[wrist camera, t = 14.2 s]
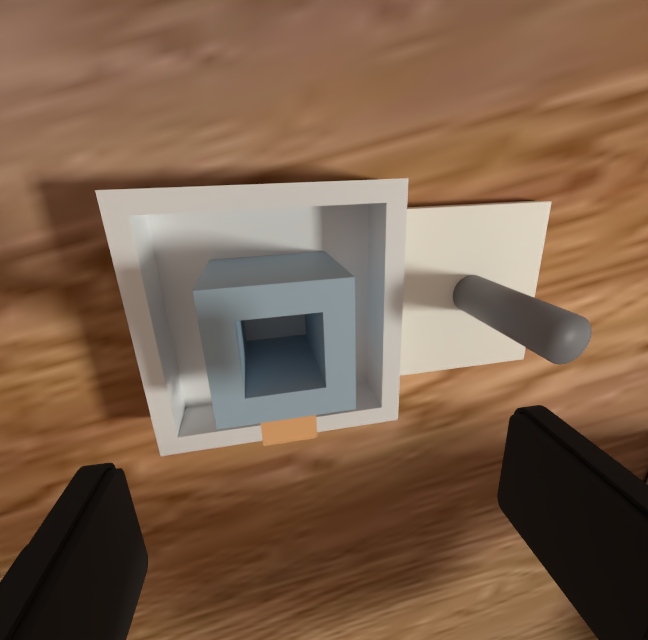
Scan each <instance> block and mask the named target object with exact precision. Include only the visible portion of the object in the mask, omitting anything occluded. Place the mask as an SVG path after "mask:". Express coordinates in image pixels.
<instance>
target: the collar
mask: <svg viewBox="0 0 648 640" xmlns="http://www.w3.org/2000/svg"><path fill="white" fill-rule="evenodd" d="M193 296H194V302H195V308H196V313H197V319H198V325H199V331H200V336H201V342H202V348H203V353H204V359H205V365H206V371H207V376H208V382H209V388H210V394H211V399H212V405H213V411H214V416H215V422H216V428H217V430H218V429H225V428H232V427H238V426H245V425H252V424H259V423H261V432H262V440H263V446H267V445H273V444H280V443H286V442H292V441H299V440H305V439H311V438H317V422H316V415H319V414H326V413H333V412H340V411H346V410H353V409H356V344H355V277H354V276H353V275H352V274H351V273H350V272H349V271H347V270H346V269H345V268H344V267H343V266H342V265H340V264H339V263H338V262H337V261H336V260H335V259H333V258H332V257H331V256H330V255H329V254H328V253H326V252H325V251H322V252H308V253H295V254H281V255H267V256H253V257H240V258H226V259H212V260H209V262H208V264H207V266H206V268H205V269H204V271H203V273H202V275H201V277H200V278H199V280H198V282H197V284H196V286H195V287H194V289H193ZM300 314H305V325H306V334H304V335H295V336H286V337H277V338H268V339H259V340H250V341H246V334H245V326H244V320H251V319H261V318H270V317H280V316H290V315H300Z"/></svg>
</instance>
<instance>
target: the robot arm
mask: <svg viewBox="0 0 648 640" xmlns="http://www.w3.org/2000/svg"><path fill="white" fill-rule="evenodd" d="M497 498H498V503H499V506H500V508H501V510H502V511H503V513H504V514H505V515H506V517H507V518H508V519H509V521H510V522H511V523H512V525H513V526H514V527H515V529H516V530H517V531H518V533H519V534H520V535H521V537H522V538H523V539H524V541H525V542H526V543H527V545H528V546H529V547H530V549H531V550H532V551H533V553H534V554H535V555H536V557H537V558H538V559H539V561H540V562H541V563H542V565H543V566H544V567H545V569H546V570H547V571H548V573H549V574H550V575H551V577H552V578H553V579H554V581H555V582H556V583H557V585H558V586H559V587H560V589H561V590H562V591H563V593H564V594H565V595H566V597H567V598H568V599H569V601H570V602H571V603H572V605H573V606H574V607H575V609H576V610H577V611H578V613H579V614H580V615H581V617H582V618H583V619H584V621H585V622H586V623H587V625H588V626H589V627H590V629H591V630H592V631H593V633H594V634H595V635H596V637H597V638H598V639H599V640H648V478H647V482H646V483H645V482H643V481H642V480H641V479H639V478H638V477H637V476H635V475H634V474H633V473H632V472H630V471H629V470H628V469H626V468H625V467H624V466H622V465H621V464H620V463H618V462H617V461H616V460H614V459H613V458H612V457H610V456H609V455H608V454H606V453H605V452H604V451H603V450H601V449H600V448H599V447H597V446H596V445H595V444H593V443H592V442H591V441H589V440H588V439H587V438H585V437H584V436H583V435H581V434H580V433H579V432H578V431H576V430H575V429H574V428H572V427H571V426H570V425H568V424H567V423H566V422H564V421H563V420H562V419H560V418H559V417H558V416H556V415H555V414H554V413H552V412H551V411H550V410H549V409H547V408H546V407H544V406H541V405H537V406H529V407H522V408H518V409H517V410H516V411H515V413H514V415H512V416H511V417H510V420H509V426H508V432H507V438H506V445H505V451H504V457H503V463H502V470H501V476H500V482H499V489H498V496H497ZM147 568H148V555H147V551H146V547H145V544H144V540H143V537H142V533H141V530H140V526H139V523H138V519H137V516H136V512H135V509H134V505H133V502H132V498H131V495H130V491H129V488H128V484H127V481H126V477H125V474H124V471H123V470H122V469H121V468H118V469H116V468H115V465H114V464H113V463H104V464H96V465H89V466H83V467H81V468H80V469H79V470H78V471H77V472H76V474H75V475H74V477H73V478H72V480H71V481H70V483H69V484H68V486H67V487H66V489H65V490H64V492H63V493H62V495H61V496H60V498H59V499H58V501H57V502H56V504H55V505H54V507H53V508H52V510H51V511H50V513H49V514H48V516H47V517H46V519H45V520H44V522H43V523H42V524H41V526H40V527H39V529H38V530H37V532H36V533H35V535H34V536H33V538H32V539H31V541H30V542H29V544H28V545H27V546H26V547H25V548H24V549H23V550H22V551H21V553H20V554H19V555H18V557H17V558H16V560H15V561H14V563H13V564H12V566H11V567H10V569H9V570H8V572H7V573H6V575H5V576H4V577H3V579H2V580H1V582H0V640H126V638H127V635H128V632H129V628H130V625H131V622H132V619H133V615H134V612H135V609H136V606H137V602H138V599H139V596H140V593H141V589H142V586H143V583H144V580H145V576H146V573H147Z"/></svg>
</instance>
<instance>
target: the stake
mask: <svg viewBox="0 0 648 640" xmlns="http://www.w3.org/2000/svg"><path fill="white" fill-rule="evenodd" d="M551 202H552V201H521V202H502V203H483V204H464V205H444V206H425V207H407V220H406V243H405V267H404V290H403V313H402V336H401V360H400V375H408V374H415V373H423V372H430V371H438V370H445V369H453V368H460V367H468V366H475V365H483V364H490V363H498V362H505V361H513V360H520V359H524V353H525V348H528V349H529V350H531V351H533V352H535V353H536V354H538V355H540V356H541V357H543V358H545V359H547V360H548V361H550V362H552V363H554V364H566V363H569V362H571V361H573V360H575V359H576V358H577V357H579V356H580V355H581V354H582V353H583V351H584V350H585V349H586V347H587V346H588V344H589V341H590V338H591V332H592V331H591V325H590V323H589V321H588V320H587V319H586V318H585V317H583V316H580V315H578V314H575V313H572V312H570V311H567V310H565V309H562V308H560V307H557V306H554V305H552V304H549V303H547V302H544V301H542V300H539V299H536V298H534V297H535V292H536V286H537V280H538V275H539V269H540V263H541V258H542V252H543V247H544V241H545V235H546V230H547V224H548V219H549V213H550V207H551Z"/></svg>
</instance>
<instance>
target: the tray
mask: <svg viewBox="0 0 648 640" xmlns="http://www.w3.org/2000/svg"><path fill="white" fill-rule="evenodd" d="M95 192H96V196H97V200H98V204H99V208H100V212H101V217H102V221H103V225H104V229H105V233H106V237H107V241H108V245H109V249H110V253H111V257H112V261H113V265H114V269H115V273H116V277H117V281H118V285H119V290H120V294H121V298H122V302H123V306H124V310H125V314H126V318H127V322H128V326H129V330H130V334H131V338H132V342H133V346H134V350H135V354H136V358H137V363H138V367H139V371H140V375H141V379H142V383H143V387H144V391H145V395H146V399H147V403H148V407H149V411H150V415H151V419H152V423H153V427H154V431H155V436H156V440H157V444H158V448H159V452H160V456H166V455H172V454H179V453H185V452H192V451H198V450H205V449H211V448H218V447H224V446H231V445H237V444H244V443H250V442H257V441H263V440H262V432H261V423H259V424H252V425H245V426H238V427H232V428H225V429H218V430H217V428H216V422H215V416H214V411H213V405H212V399H211V394H210V388H209V382H208V376H207V371H206V365H205V359H204V353H203V348H202V342H201V336H200V331H199V325H198V319H197V313H196V308H195V302H194V296H193V289H194V287H195V286H196V284H197V282H198V280H199V278H200V277H201V275H202V273H203V271H204V269H205V268H206V266H207V264H208V262H209V260H212V259H226V258H240V257H253V256H267V255H281V254H295V253H308V252H322V251H325V252H326V253H328V254H329V255H330V256H331V257H332V258H333V259H335V260H336V261H337V262H338V263H339V264H340V265H342V266H343V267H344V268H345V269H346V270H347V271H349V272H350V273H351V274H352V275H353V276H354V277H355V344H356V409H353V410H346V411H340V412H333V413H326V414H319V415H316V422H317V432H322V431H328V430H335V429H341V428H348V427H354V426H360V425H367V424H373V423H380V422H386V421H393V420H398V406H399V383H400V360H401V336H402V313H403V290H404V267H405V243H406V220H407V197H408V178H405V179H379V180H352V181H326V182H300V183H274V184H248V185H221V186H195V187H169V188H143V189H117V190H95ZM244 326H245V334H246V341H250V340H259V339H268V338H277V337H286V336H295V335H304V334H306V325H305V314H300V315H290V316H280V317H270V318H261V319H251V320H244Z"/></svg>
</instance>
